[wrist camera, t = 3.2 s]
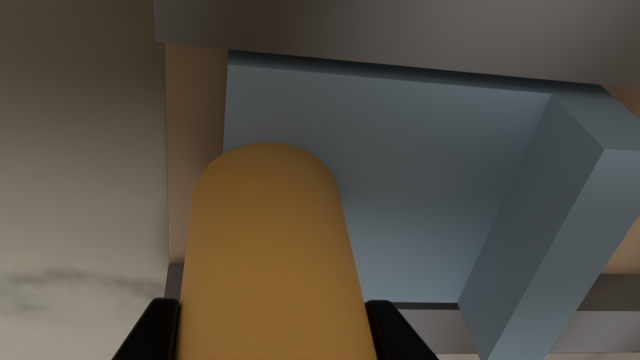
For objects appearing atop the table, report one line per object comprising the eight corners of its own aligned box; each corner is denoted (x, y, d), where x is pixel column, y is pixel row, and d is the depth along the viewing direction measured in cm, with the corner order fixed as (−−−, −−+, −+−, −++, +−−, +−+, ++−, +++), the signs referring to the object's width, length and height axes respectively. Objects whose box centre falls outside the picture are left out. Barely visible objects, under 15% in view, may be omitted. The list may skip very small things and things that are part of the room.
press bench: (1027, -11, 14) (1472, 113, 9) (748, 293, 21) (908, 460, 16) (170, -146, 10) (98, -61, 5) (175, 284, 17) (146, 503, 12)
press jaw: (583, 70, 12) (984, 423, 6) (489, 266, 16) (664, 616, 9) (198, 31, 11) (127, 458, 4) (194, 259, 14) (153, 674, 8)
